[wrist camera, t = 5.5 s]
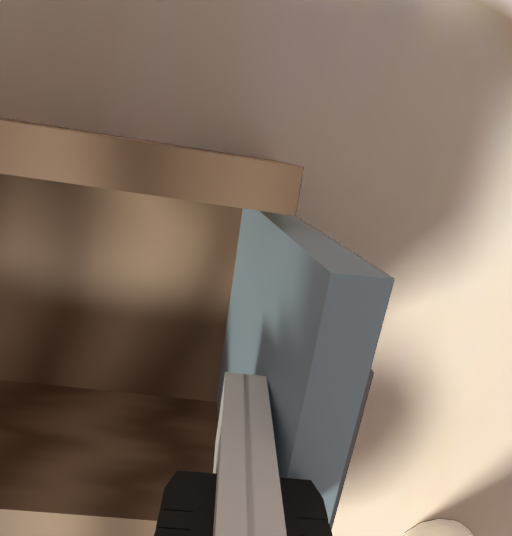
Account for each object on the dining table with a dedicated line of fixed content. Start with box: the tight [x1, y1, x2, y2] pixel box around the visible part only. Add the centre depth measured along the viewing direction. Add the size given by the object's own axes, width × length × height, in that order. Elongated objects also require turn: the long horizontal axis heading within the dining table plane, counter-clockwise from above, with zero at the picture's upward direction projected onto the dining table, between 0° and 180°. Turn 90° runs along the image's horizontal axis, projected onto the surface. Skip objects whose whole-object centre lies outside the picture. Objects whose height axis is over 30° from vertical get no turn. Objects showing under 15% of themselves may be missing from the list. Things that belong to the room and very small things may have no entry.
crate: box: [0, 118, 304, 536], centre depth 17 cm, size 22×16×10 cm
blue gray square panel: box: [216, 208, 394, 530], centre depth 16 cm, size 2×12×12 cm, turn 171°
